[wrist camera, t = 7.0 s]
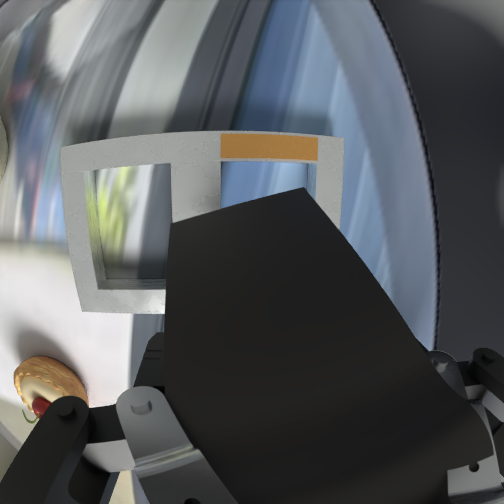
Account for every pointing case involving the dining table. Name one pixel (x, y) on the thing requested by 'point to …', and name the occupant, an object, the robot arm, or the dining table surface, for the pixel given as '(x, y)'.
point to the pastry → (45, 383)
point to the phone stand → (303, 365)
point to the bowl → (3, 149)
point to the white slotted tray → (177, 194)
